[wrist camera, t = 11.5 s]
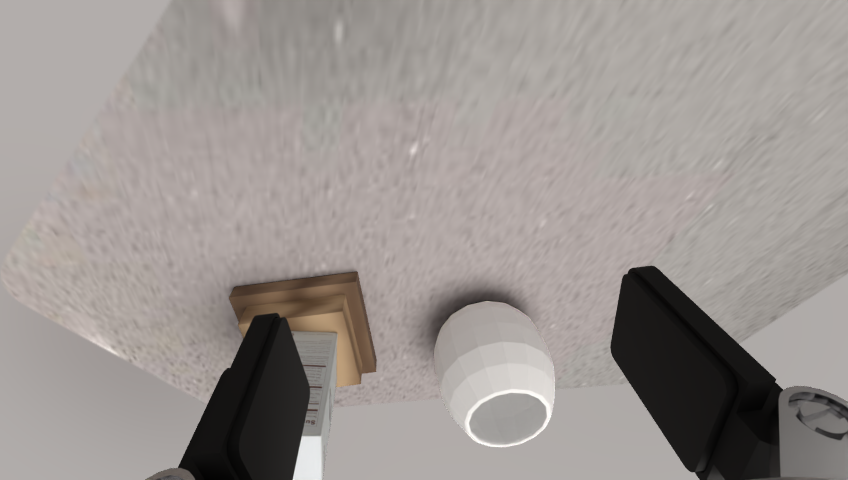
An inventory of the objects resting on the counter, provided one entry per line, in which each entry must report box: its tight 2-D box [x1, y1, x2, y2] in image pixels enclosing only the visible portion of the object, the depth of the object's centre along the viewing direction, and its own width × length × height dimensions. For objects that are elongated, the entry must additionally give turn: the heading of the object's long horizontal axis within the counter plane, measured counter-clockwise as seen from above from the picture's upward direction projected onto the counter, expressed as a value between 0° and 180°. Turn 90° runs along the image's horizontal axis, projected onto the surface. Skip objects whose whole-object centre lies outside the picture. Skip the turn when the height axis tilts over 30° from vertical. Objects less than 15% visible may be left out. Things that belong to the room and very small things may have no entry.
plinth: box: [229, 272, 376, 387], centre depth 47 cm, size 14×14×5 cm
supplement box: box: [291, 331, 338, 480], centre depth 39 cm, size 7×7×13 cm
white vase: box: [433, 301, 555, 447], centre depth 46 cm, size 13×13×14 cm
